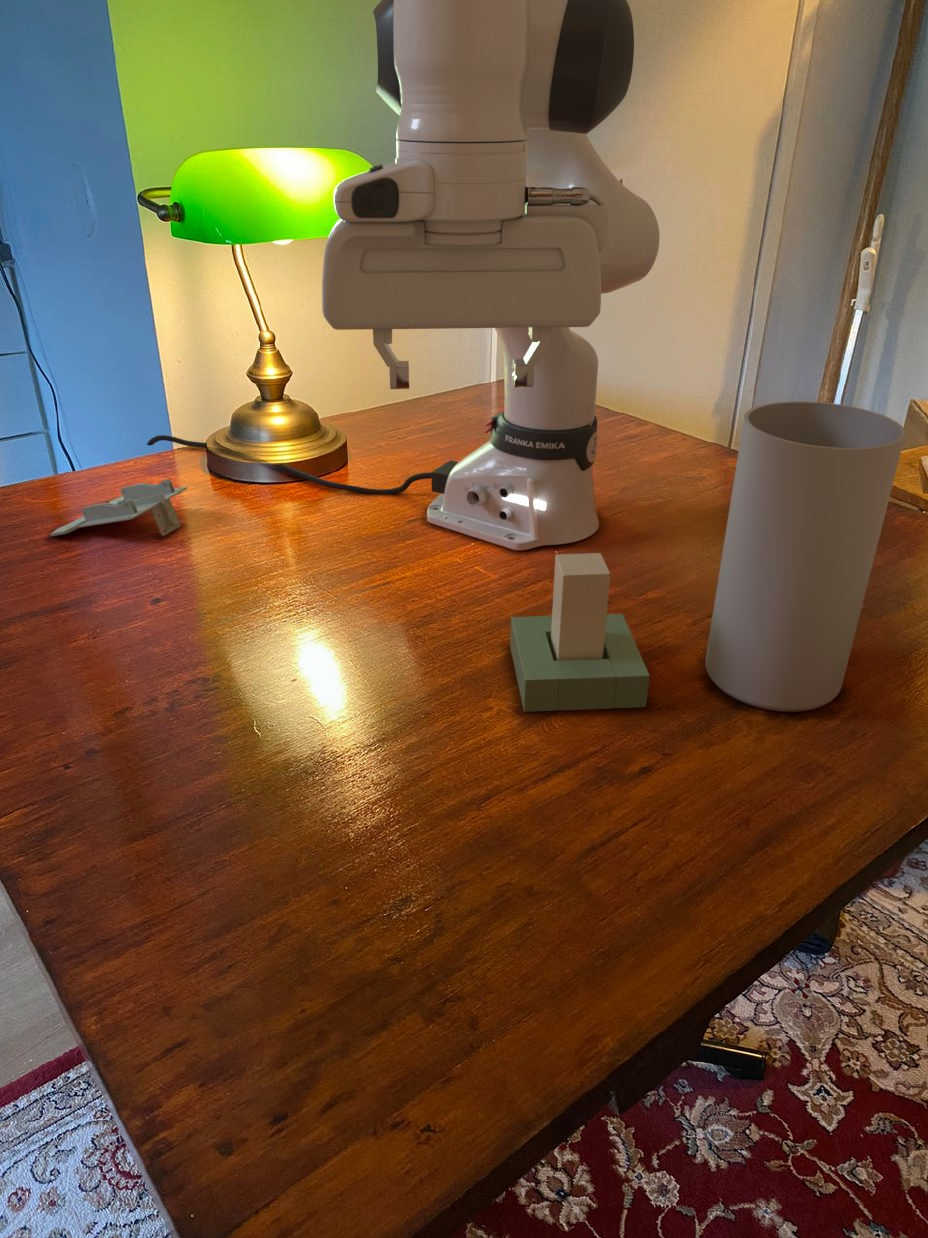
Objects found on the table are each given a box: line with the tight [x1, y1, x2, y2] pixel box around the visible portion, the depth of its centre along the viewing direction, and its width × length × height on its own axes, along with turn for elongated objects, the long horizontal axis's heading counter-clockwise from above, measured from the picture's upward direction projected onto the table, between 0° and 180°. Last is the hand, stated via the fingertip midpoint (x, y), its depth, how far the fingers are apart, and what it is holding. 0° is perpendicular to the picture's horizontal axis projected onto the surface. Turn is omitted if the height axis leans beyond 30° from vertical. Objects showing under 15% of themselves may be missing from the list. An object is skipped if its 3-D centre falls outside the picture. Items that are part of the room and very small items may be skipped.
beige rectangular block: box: [550, 552, 611, 661], centre depth 84 cm, size 4×4×12 cm
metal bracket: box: [49, 478, 188, 537], centre depth 117 cm, size 14×6×15 cm
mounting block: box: [509, 613, 650, 713], centre depth 86 cm, size 11×11×4 cm
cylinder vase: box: [704, 400, 906, 713], centre depth 81 cm, size 12×12×25 cm
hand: (461, 386), depth 70 cm, fingers open, 8 cm apart
